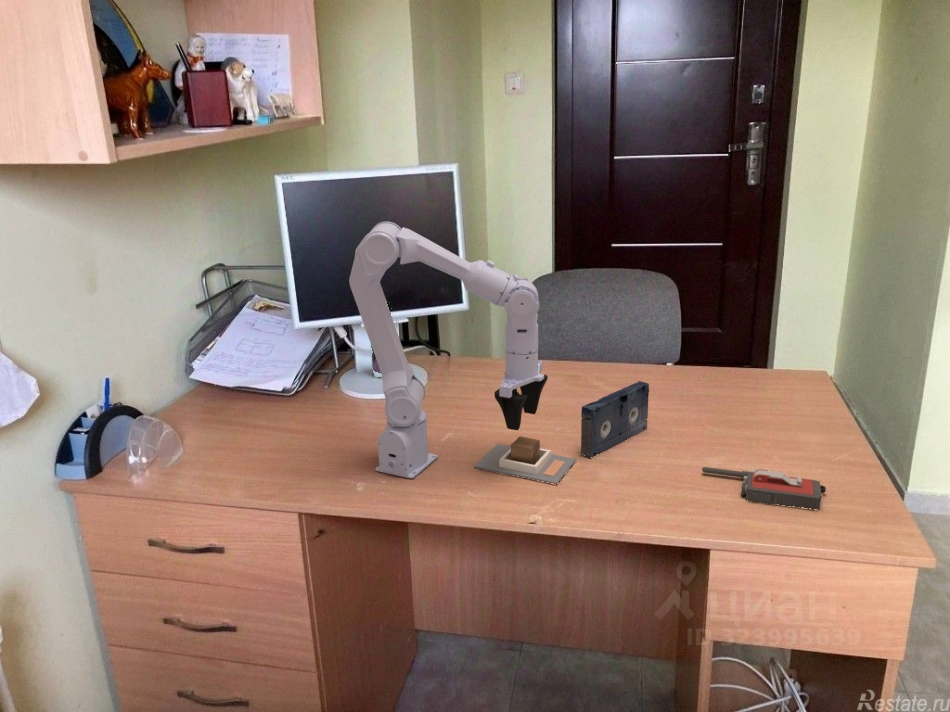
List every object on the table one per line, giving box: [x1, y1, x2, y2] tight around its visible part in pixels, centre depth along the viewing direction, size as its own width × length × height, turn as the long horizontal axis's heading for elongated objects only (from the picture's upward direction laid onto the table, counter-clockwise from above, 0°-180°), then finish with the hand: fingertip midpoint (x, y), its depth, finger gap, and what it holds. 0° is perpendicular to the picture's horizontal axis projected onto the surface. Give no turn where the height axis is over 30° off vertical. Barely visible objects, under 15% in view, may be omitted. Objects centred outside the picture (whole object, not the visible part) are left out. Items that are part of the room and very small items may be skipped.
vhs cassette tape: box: [580, 380, 650, 459], centre depth 150 cm, size 18×3×10 cm, turn 132°
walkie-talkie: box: [701, 466, 827, 510], centre depth 131 cm, size 9×4×20 cm
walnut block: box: [510, 435, 541, 465], centre depth 142 cm, size 4×4×4 cm
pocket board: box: [473, 443, 577, 484], centre depth 142 cm, size 10×16×2 cm, turn 63°
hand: (521, 420), depth 141 cm, fingers open, 7 cm apart
